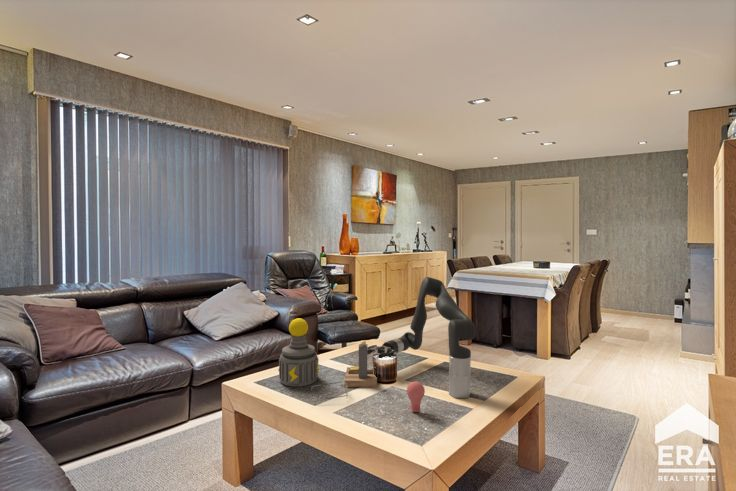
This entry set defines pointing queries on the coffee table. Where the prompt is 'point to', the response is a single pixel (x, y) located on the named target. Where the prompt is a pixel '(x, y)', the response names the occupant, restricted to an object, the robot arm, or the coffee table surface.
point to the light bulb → (415, 395)
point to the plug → (363, 359)
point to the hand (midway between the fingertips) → (372, 354)
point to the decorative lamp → (298, 358)
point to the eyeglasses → (332, 397)
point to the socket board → (355, 381)
